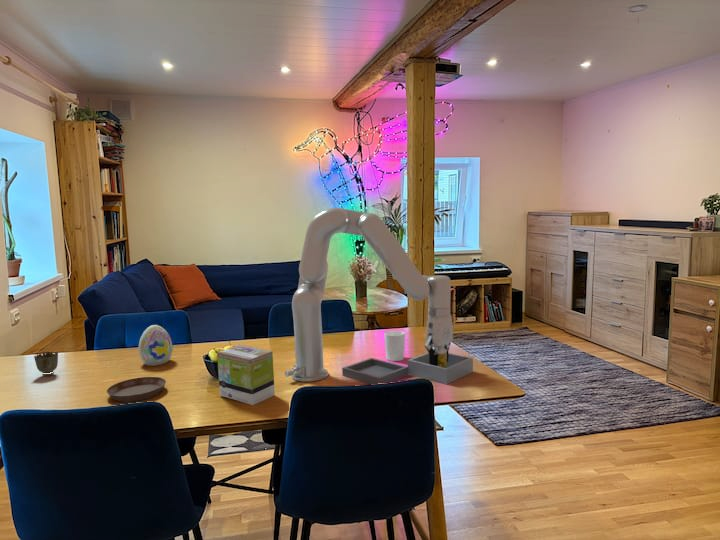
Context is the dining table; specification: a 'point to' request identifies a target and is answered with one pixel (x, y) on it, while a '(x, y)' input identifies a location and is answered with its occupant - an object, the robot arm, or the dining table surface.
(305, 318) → the robot arm
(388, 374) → the tray
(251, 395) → the tea box
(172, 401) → the dining table surface
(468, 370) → the gray square frame
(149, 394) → the plant saucer
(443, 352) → the supplement bottle
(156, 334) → the decorative egg
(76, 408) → the dining table surface
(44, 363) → the cup
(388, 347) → the white cup
